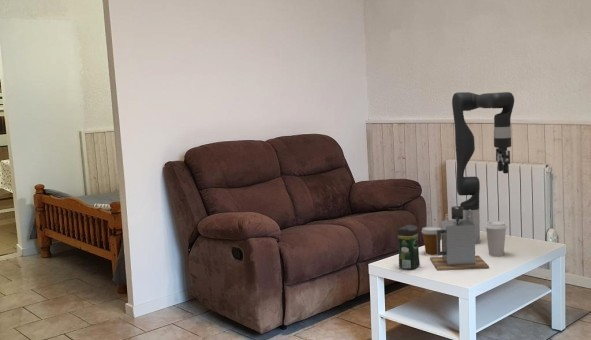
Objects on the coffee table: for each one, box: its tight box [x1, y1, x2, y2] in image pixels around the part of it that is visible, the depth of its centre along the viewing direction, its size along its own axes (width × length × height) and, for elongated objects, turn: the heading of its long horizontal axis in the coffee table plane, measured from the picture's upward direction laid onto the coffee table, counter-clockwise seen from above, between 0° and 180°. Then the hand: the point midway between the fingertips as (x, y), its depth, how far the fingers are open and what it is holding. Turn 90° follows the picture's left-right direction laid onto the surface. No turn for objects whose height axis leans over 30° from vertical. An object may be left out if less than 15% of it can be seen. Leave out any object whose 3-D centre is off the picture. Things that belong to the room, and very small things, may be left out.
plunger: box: [450, 205, 463, 223], centre depth 271 cm, size 8×8×20 cm
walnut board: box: [429, 255, 490, 271], centre depth 273 cm, size 18×22×1 cm
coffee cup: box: [484, 220, 508, 257], centre depth 284 cm, size 10×10×15 cm
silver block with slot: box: [436, 219, 476, 266], centre depth 272 cm, size 12×15×18 cm
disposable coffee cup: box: [421, 226, 442, 256], centre depth 292 cm, size 10×10×12 cm
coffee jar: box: [397, 224, 421, 270], centre depth 271 cm, size 10×8×19 cm
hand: (503, 172), depth 281 cm, fingers open, 8 cm apart
